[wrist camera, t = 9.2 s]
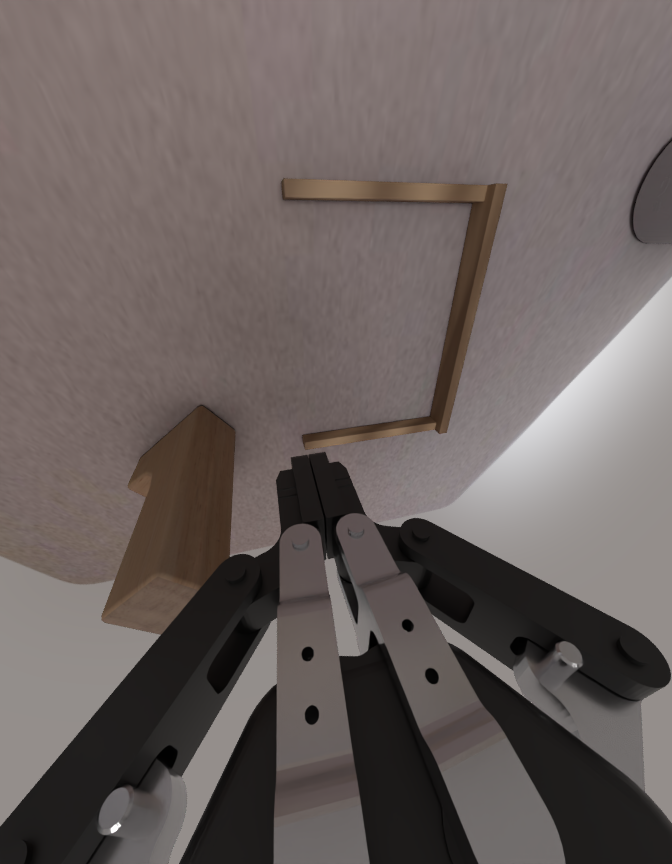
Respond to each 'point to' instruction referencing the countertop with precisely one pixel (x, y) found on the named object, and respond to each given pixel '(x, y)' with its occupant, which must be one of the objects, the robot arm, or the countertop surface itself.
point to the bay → (465, 296)
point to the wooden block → (176, 523)
